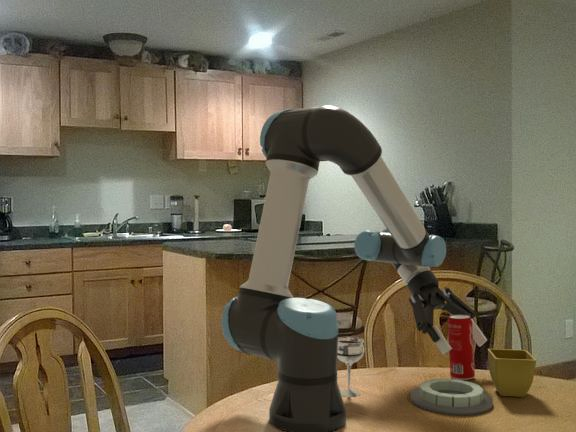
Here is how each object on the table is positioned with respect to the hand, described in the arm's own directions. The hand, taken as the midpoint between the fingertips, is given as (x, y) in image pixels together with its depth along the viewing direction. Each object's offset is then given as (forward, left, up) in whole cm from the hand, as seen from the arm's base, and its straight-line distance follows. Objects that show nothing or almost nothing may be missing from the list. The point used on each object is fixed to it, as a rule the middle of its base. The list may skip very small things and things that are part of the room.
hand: (465, 347), depth 160 cm
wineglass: (-30, -9, -8) cm, 32 cm away
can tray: (-9, -16, -7) cm, 20 cm away
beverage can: (-1, +1, -8) cm, 8 cm away
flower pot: (+6, -12, -8) cm, 16 cm away
